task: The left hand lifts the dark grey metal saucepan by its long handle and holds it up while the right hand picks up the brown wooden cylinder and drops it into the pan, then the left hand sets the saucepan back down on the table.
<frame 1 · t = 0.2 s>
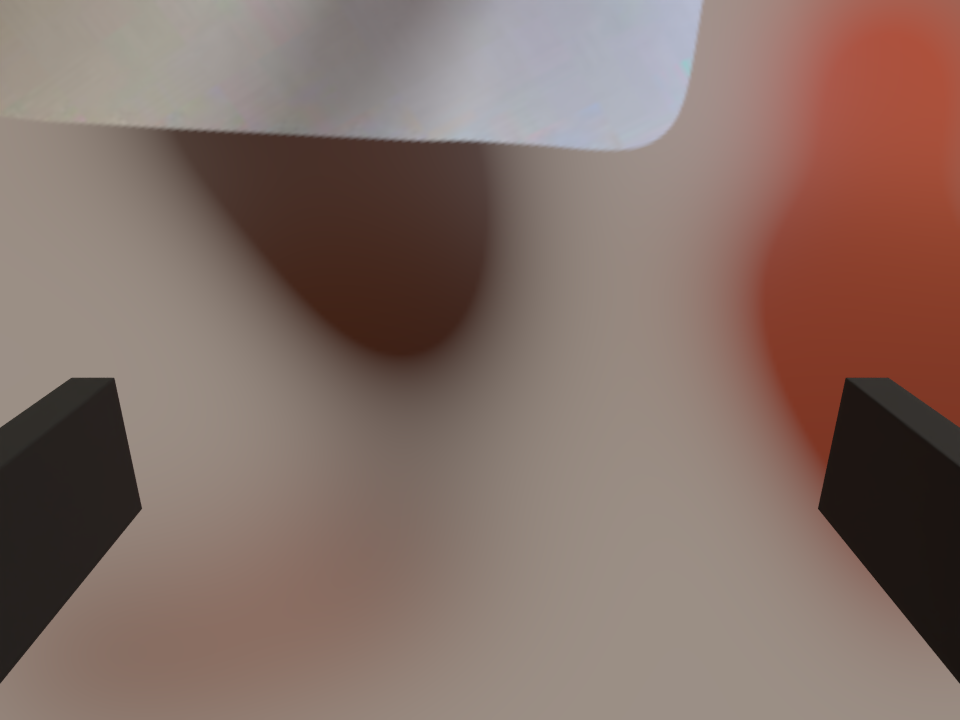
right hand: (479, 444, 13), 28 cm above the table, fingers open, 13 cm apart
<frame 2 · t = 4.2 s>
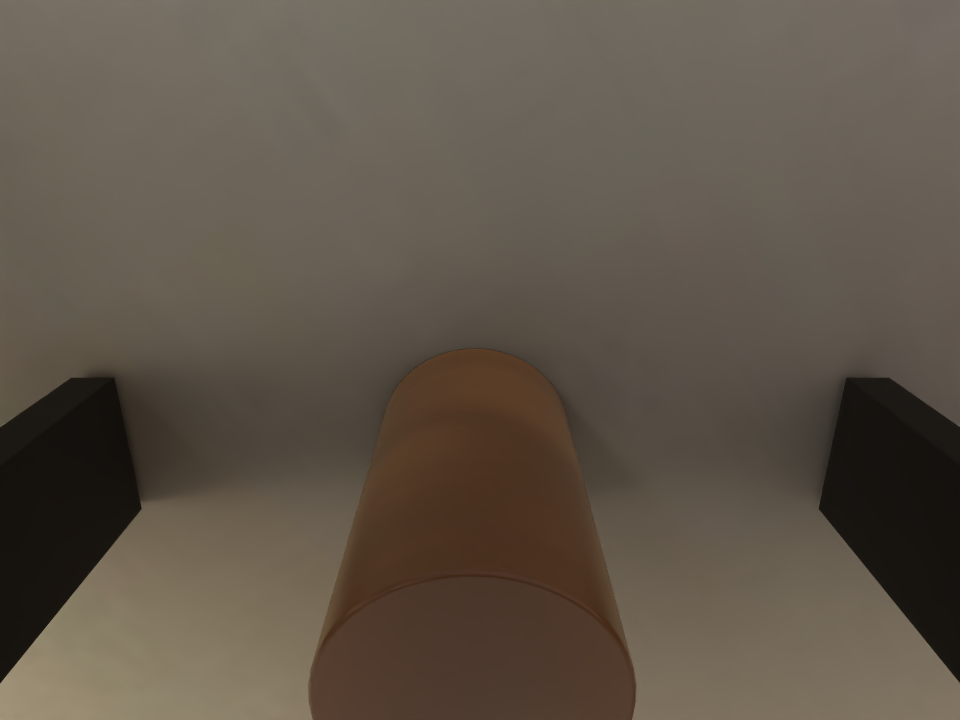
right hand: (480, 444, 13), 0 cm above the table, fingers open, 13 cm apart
brown wooden cylinder: (475, 433, 13), on the table
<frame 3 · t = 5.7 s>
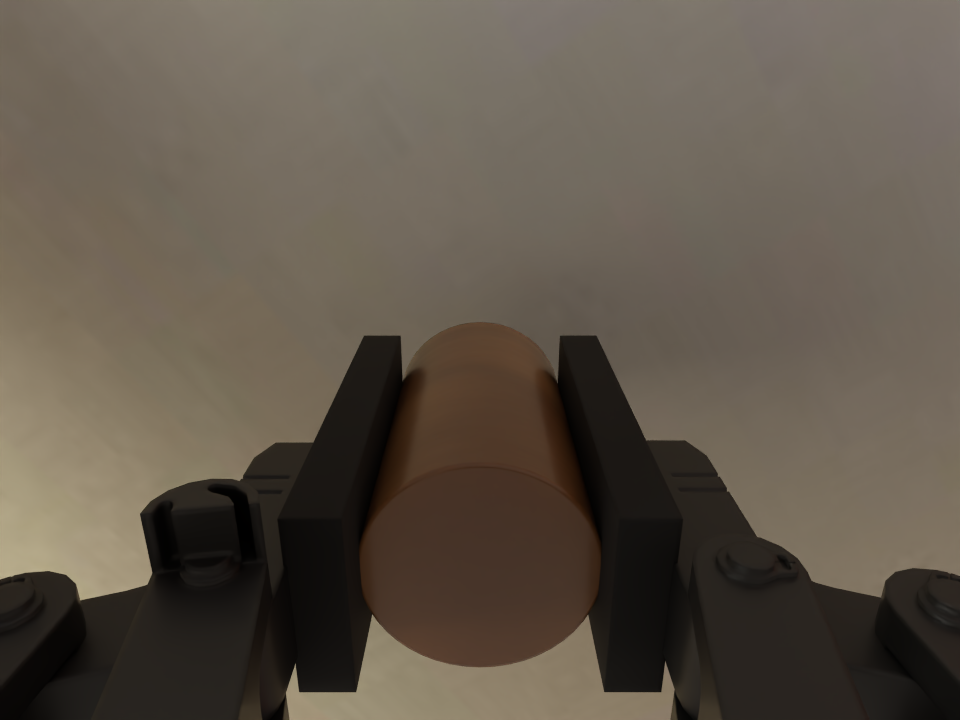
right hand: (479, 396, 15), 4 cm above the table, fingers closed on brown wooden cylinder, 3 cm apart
brown wooden cylinder: (479, 395, 15), point 4 cm above the table, touching right hand
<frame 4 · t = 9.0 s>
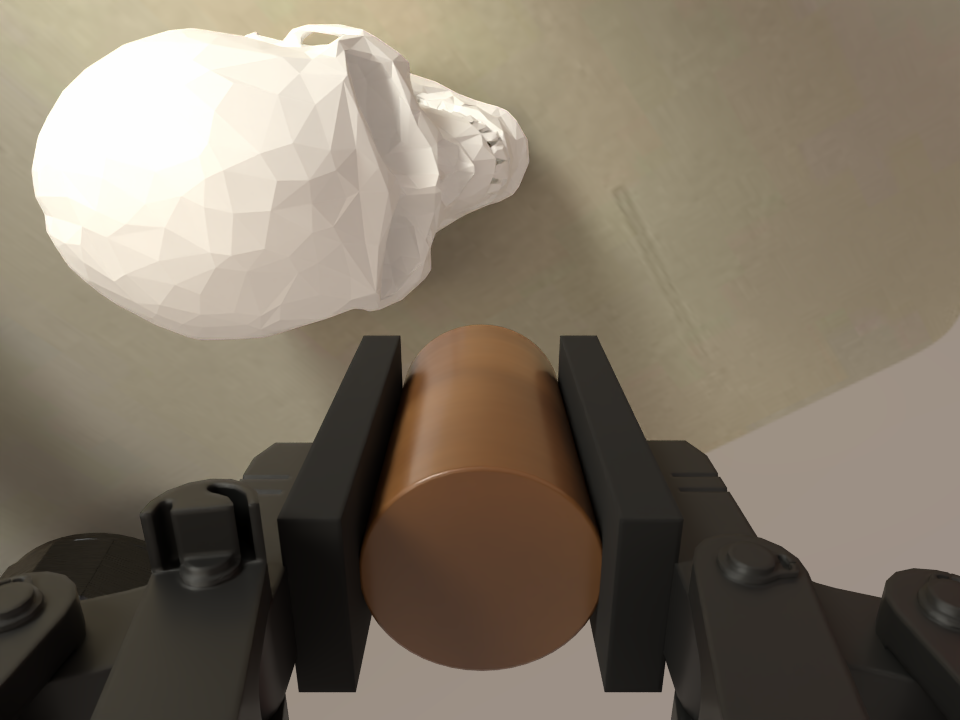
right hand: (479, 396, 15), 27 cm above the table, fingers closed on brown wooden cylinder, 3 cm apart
skull: (333, 163, 39), on the table
saucepan: (108, 614, 41), point 8 cm above the table, tilted 7°, touching left hand
brown wooden cylinder: (481, 397, 15), point 27 cm above the table, touching right hand
when the right hand's fingers open (19 cm above the table, at t = 12.5 s): brown wooden cylinder drops 15 cm and tips over, resting on saucepan.
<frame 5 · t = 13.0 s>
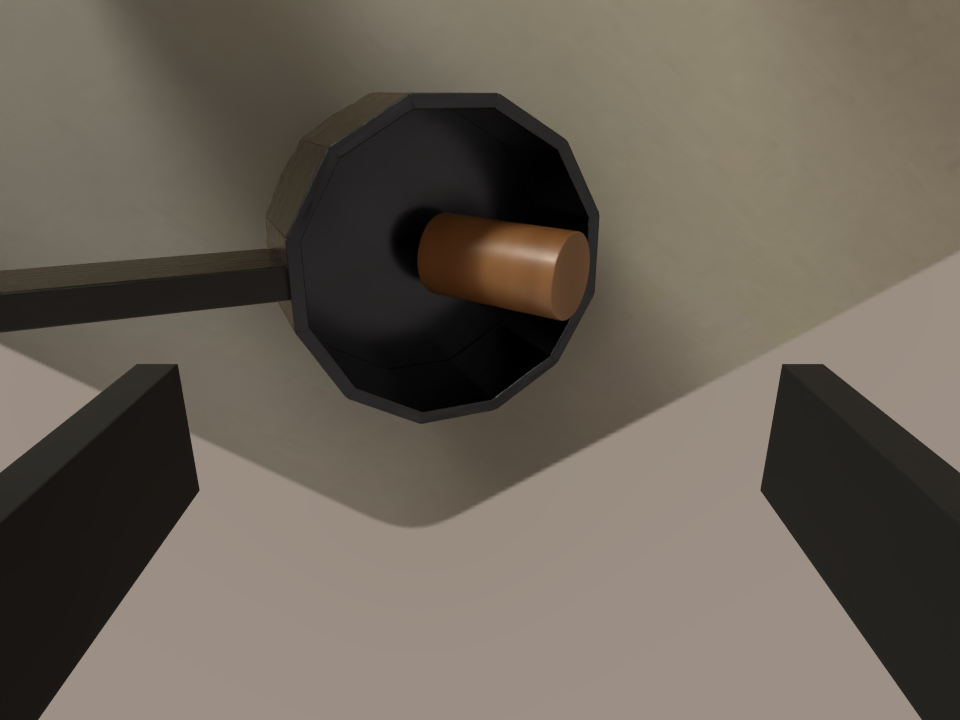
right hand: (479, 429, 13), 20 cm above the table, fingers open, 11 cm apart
saucepan: (410, 241, 30), point 2 cm above the table, tilted 24°, touching left hand, brown wooden cylinder
brown wooden cylinder: (441, 253, 29), point 4 cm above the table, tilted 58°, touching saucepan
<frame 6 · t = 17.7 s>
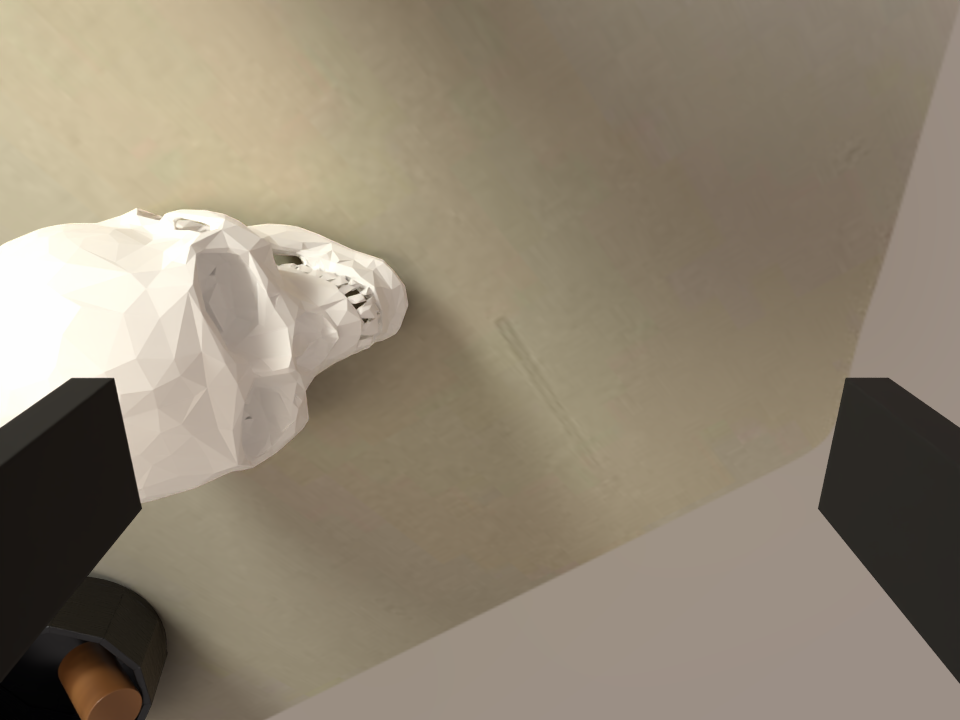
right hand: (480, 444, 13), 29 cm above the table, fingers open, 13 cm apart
skull: (231, 305, 41), on the table
saucepan: (77, 645, 50), point 1 cm above the table, tilted 11°, touching left hand
brown wooden cylinder: (85, 663, 48), point 3 cm above the table, tilted 45°
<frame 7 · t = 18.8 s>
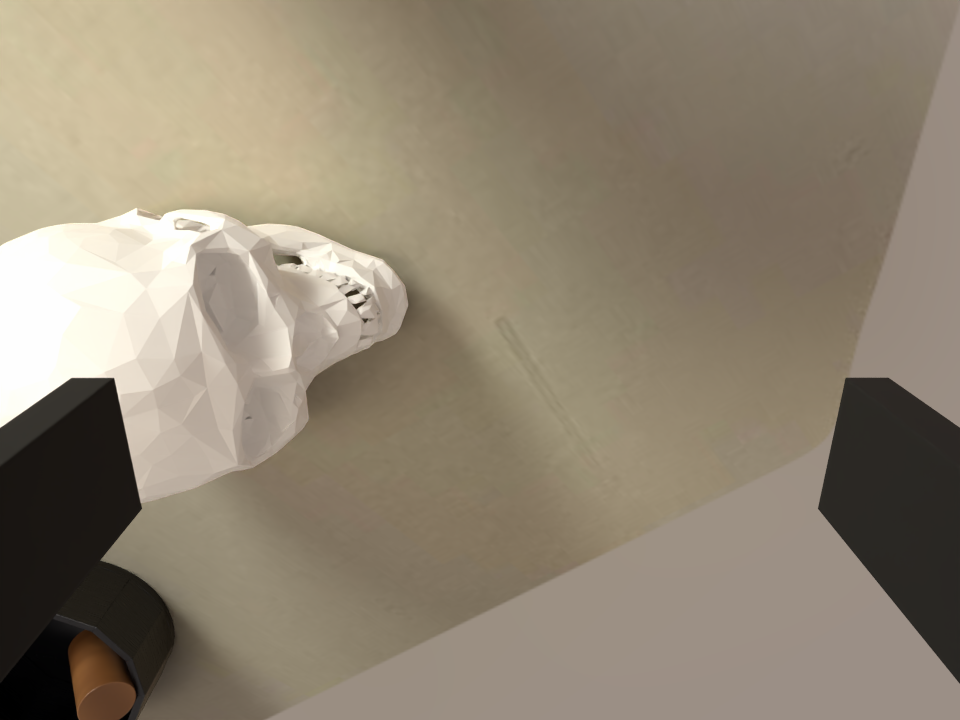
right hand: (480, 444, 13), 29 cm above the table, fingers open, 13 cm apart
skull: (231, 305, 41), on the table
saucepan: (91, 624, 50), on the table, touching brown wooden cylinder
brown wooden cylinder: (95, 645, 49), point 2 cm above the table, tilted 34°, touching saucepan
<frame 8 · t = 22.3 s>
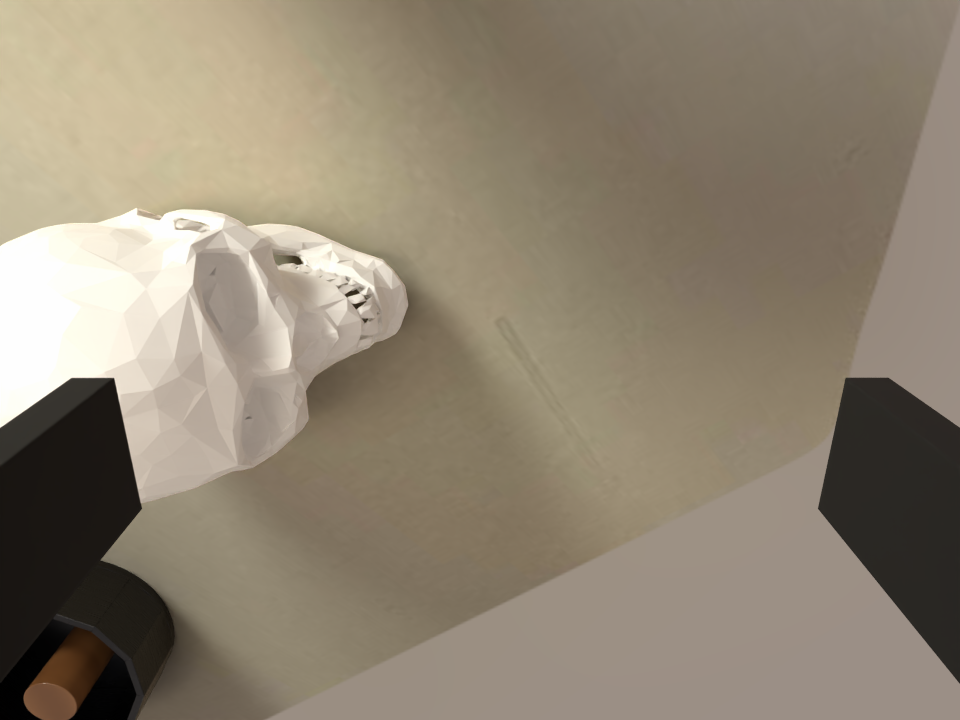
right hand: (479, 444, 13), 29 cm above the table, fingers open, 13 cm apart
skull: (231, 305, 41), on the table
saucepan: (92, 624, 50), on the table, touching brown wooden cylinder
brown wooden cylinder: (98, 634, 50), point 1 cm above the table, touching saucepan
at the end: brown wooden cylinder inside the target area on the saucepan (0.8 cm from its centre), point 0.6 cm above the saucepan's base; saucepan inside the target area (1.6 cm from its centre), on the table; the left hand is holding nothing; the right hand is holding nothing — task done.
